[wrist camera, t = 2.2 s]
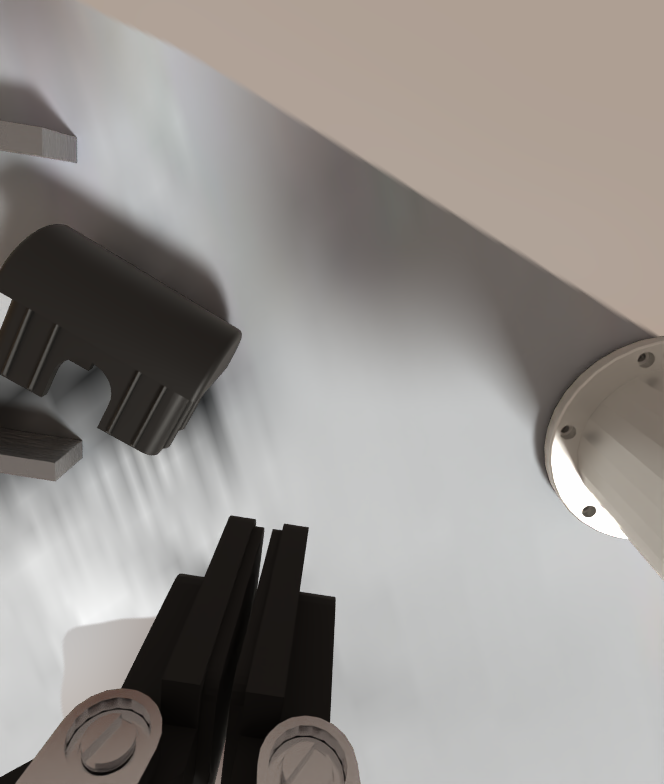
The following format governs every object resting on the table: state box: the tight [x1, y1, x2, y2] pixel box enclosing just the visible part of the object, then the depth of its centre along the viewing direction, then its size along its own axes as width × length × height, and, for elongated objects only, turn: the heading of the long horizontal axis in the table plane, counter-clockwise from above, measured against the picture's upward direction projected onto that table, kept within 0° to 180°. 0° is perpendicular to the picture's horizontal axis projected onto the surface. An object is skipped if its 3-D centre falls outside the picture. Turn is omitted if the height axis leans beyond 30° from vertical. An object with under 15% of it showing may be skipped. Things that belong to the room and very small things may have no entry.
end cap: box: [0, 224, 242, 455], centre depth 25 cm, size 10×7×7 cm
